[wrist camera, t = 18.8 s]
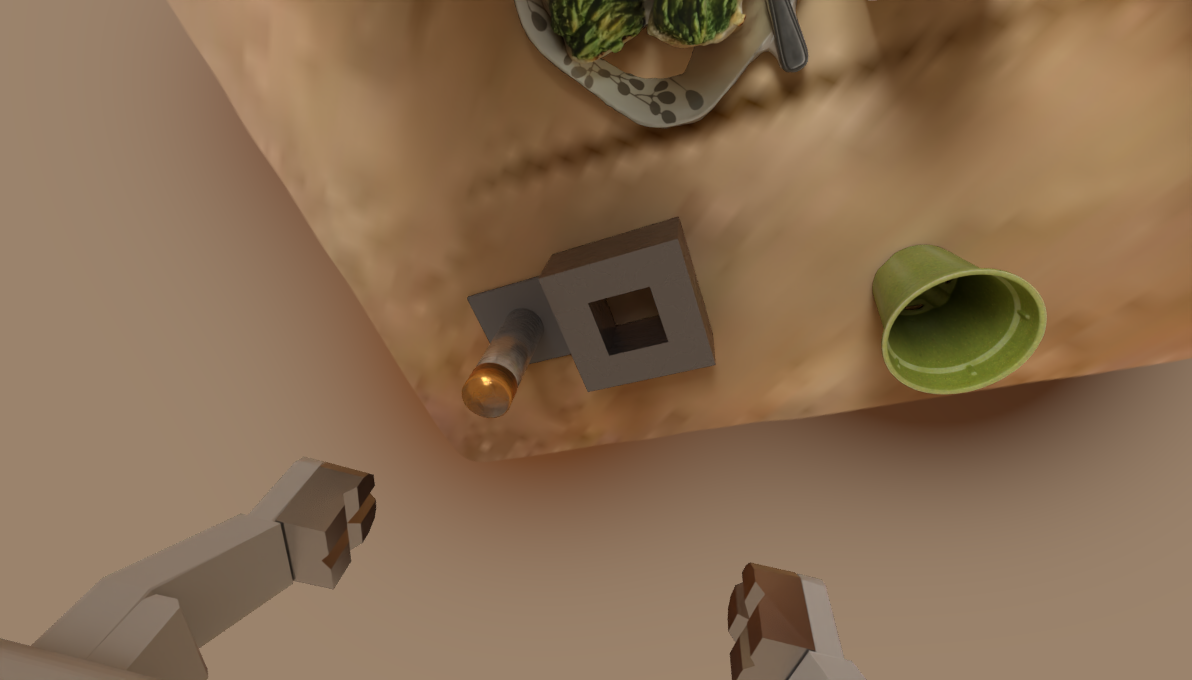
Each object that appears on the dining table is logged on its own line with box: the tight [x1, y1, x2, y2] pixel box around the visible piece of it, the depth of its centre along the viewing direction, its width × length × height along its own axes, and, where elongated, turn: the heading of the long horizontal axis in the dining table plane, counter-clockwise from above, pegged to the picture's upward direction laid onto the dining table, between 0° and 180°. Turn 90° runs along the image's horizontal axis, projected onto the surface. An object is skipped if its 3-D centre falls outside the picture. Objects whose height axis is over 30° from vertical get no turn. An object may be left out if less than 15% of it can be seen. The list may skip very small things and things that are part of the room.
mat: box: [467, 276, 571, 364], centre depth 49 cm, size 8×8×1 cm
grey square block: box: [538, 217, 716, 392], centre depth 44 cm, size 11×11×5 cm
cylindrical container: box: [462, 308, 544, 418], centre depth 44 cm, size 4×4×11 cm
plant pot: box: [872, 245, 1047, 394], centre depth 38 cm, size 9×9×9 cm
